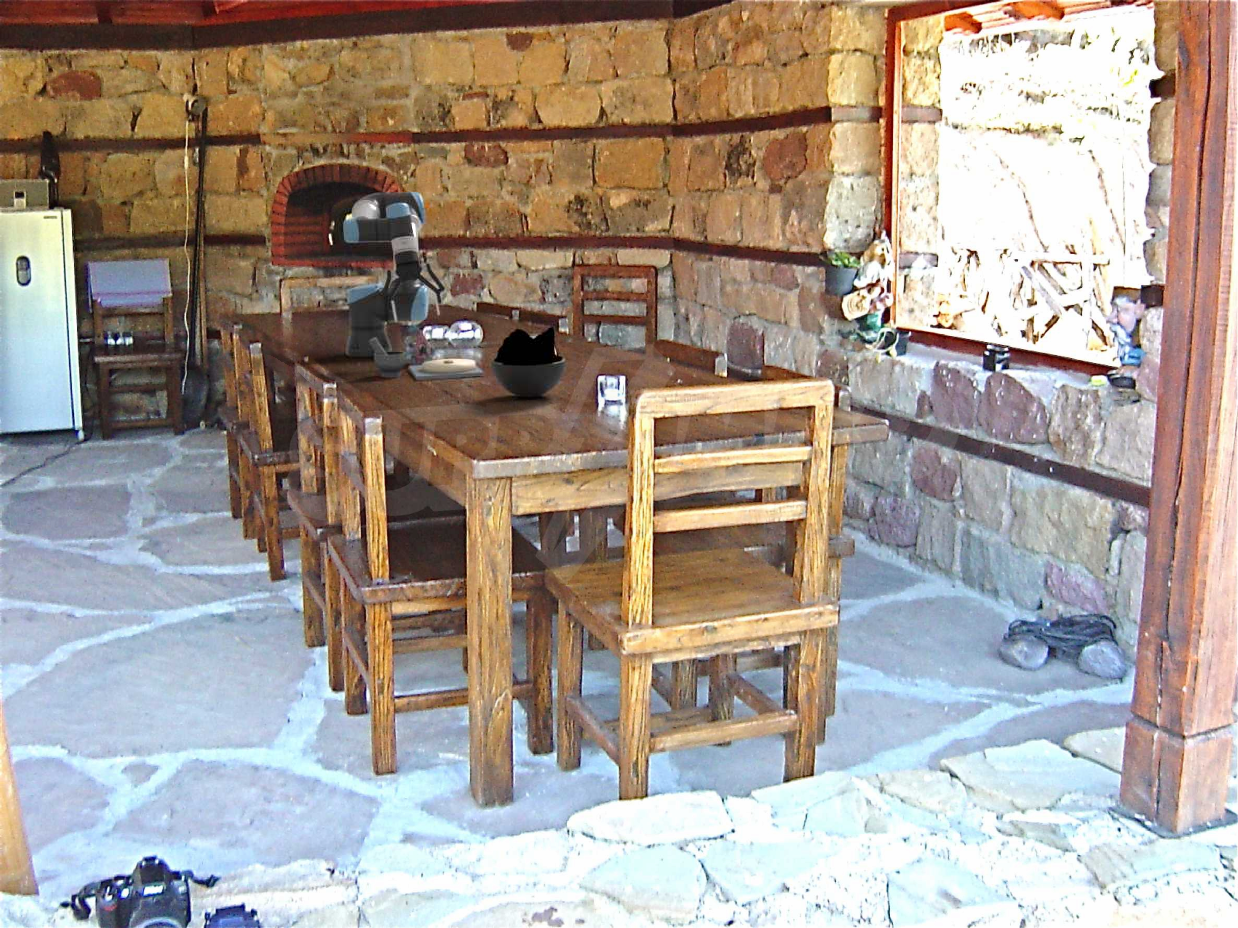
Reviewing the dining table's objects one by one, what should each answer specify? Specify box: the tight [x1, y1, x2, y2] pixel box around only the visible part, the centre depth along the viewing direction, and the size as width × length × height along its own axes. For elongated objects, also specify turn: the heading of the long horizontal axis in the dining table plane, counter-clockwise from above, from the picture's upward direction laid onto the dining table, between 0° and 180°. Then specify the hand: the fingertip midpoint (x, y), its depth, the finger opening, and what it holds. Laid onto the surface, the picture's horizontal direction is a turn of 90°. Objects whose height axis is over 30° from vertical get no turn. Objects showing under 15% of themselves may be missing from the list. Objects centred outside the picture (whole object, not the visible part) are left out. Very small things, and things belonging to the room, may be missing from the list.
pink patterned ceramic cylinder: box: [404, 330, 439, 366], centre depth 419 cm, size 11×11×12 cm
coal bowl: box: [490, 326, 566, 398], centre depth 355 cm, size 20×20×19 cm
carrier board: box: [408, 358, 485, 381], centre depth 401 cm, size 22×20×4 cm
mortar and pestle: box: [369, 337, 407, 378], centre depth 397 cm, size 11×9×12 cm
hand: (417, 318), depth 418 cm, fingers open, 13 cm apart
